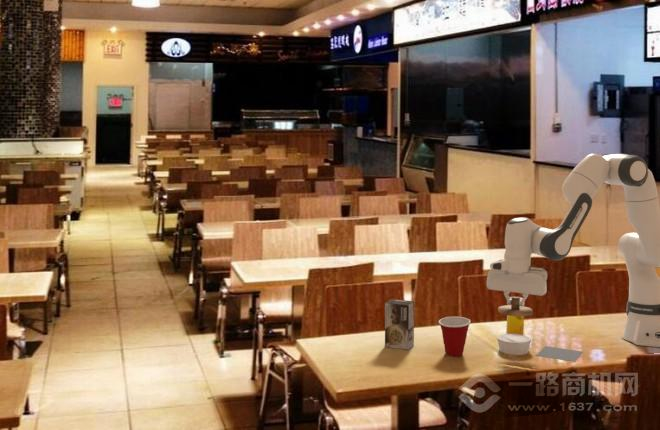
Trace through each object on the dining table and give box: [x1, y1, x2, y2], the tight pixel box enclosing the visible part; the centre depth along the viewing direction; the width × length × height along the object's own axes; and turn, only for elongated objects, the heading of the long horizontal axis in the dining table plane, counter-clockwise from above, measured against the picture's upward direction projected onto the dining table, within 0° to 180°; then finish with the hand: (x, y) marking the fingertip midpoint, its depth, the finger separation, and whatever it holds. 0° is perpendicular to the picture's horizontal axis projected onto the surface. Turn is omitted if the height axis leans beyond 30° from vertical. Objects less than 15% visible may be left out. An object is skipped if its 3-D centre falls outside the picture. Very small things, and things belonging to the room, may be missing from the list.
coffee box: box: [384, 298, 415, 350], centre depth 270 cm, size 9×6×16 cm
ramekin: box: [497, 333, 532, 356], centre depth 265 cm, size 11×11×5 cm
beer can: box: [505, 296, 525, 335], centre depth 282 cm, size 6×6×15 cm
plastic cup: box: [438, 316, 471, 357], centre depth 262 cm, size 11×11×12 cm
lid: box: [497, 296, 533, 317], centre depth 263 cm, size 12×12×5 cm
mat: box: [535, 345, 584, 363], centre depth 262 cm, size 13×13×1 cm
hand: (515, 305), depth 263 cm, fingers closed on lid, 3 cm apart
